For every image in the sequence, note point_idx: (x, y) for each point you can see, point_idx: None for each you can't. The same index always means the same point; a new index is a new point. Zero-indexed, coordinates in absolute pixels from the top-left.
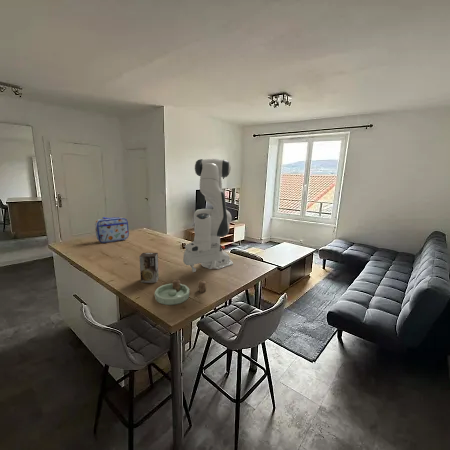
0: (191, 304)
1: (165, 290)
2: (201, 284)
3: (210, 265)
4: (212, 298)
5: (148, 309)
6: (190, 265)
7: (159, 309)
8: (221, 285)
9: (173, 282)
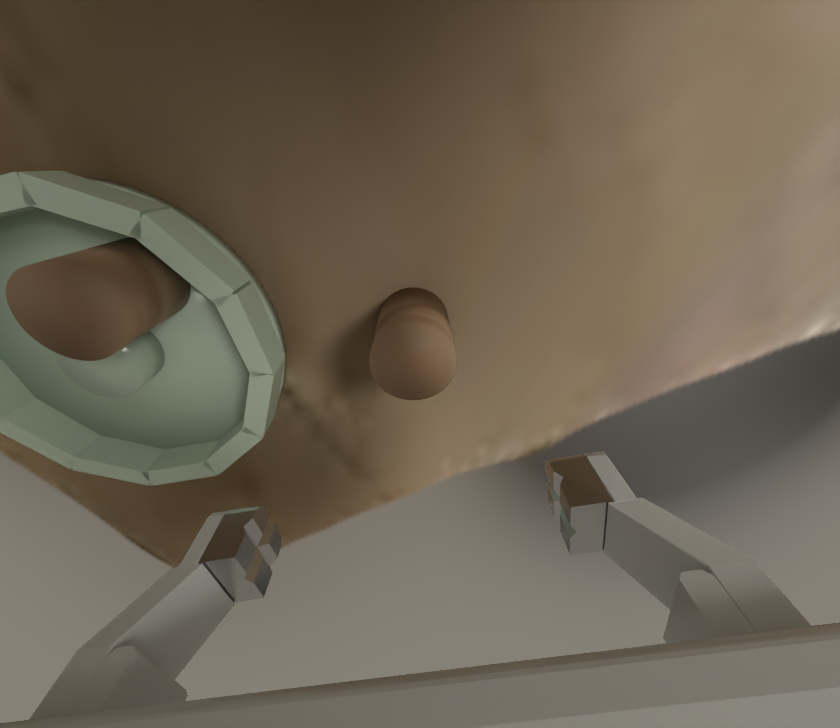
0: (297, 471)
1: (24, 251)
2: (395, 391)
3: (607, 538)
4: (453, 446)
5: (10, 455)
6: (90, 664)
7: None
8: (638, 273)
9: (35, 335)
